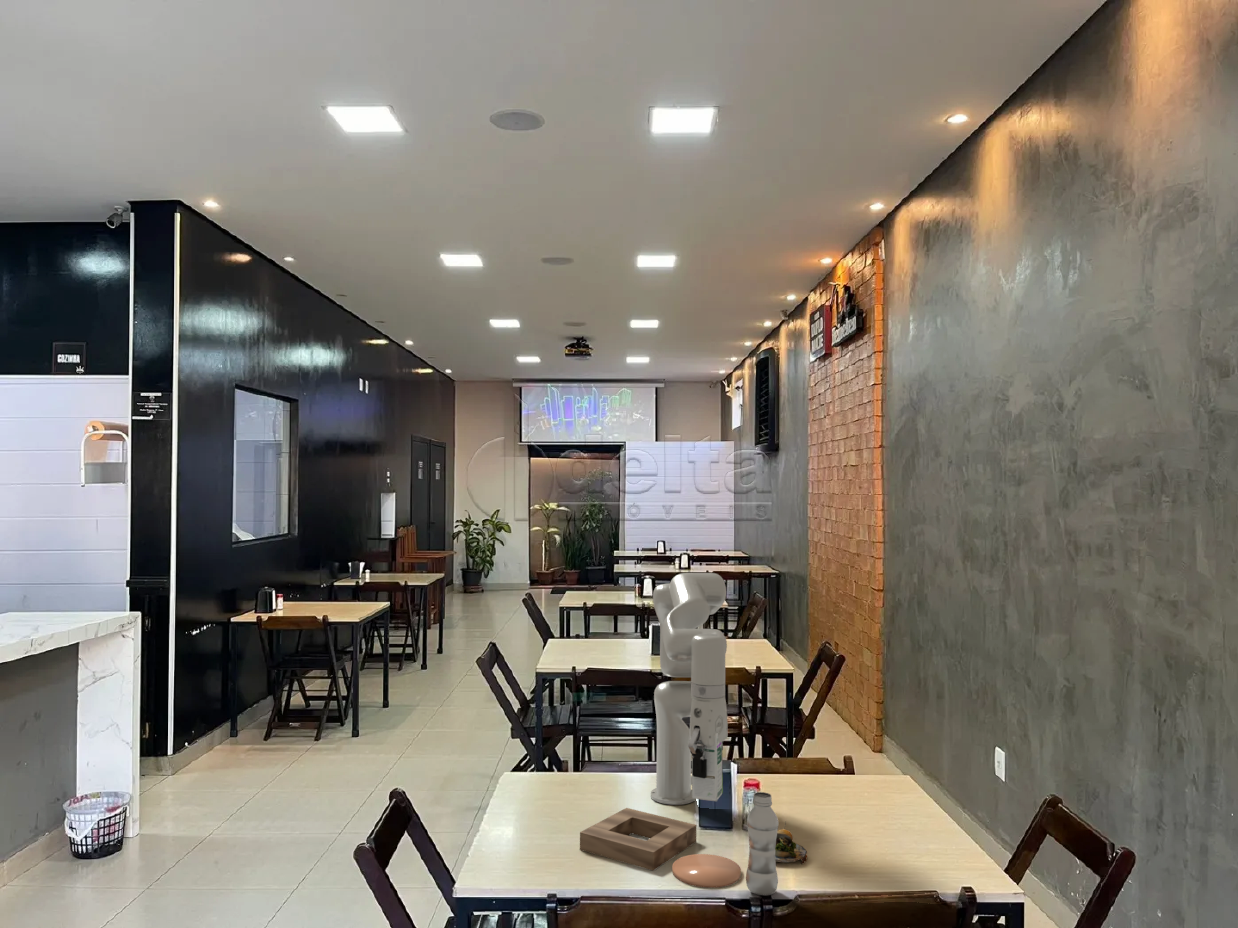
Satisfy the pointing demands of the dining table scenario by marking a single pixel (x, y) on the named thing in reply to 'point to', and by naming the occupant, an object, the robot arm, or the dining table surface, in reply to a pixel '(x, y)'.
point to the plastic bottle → (762, 846)
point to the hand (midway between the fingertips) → (707, 771)
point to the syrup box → (710, 774)
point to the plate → (706, 870)
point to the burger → (788, 848)
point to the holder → (650, 854)
